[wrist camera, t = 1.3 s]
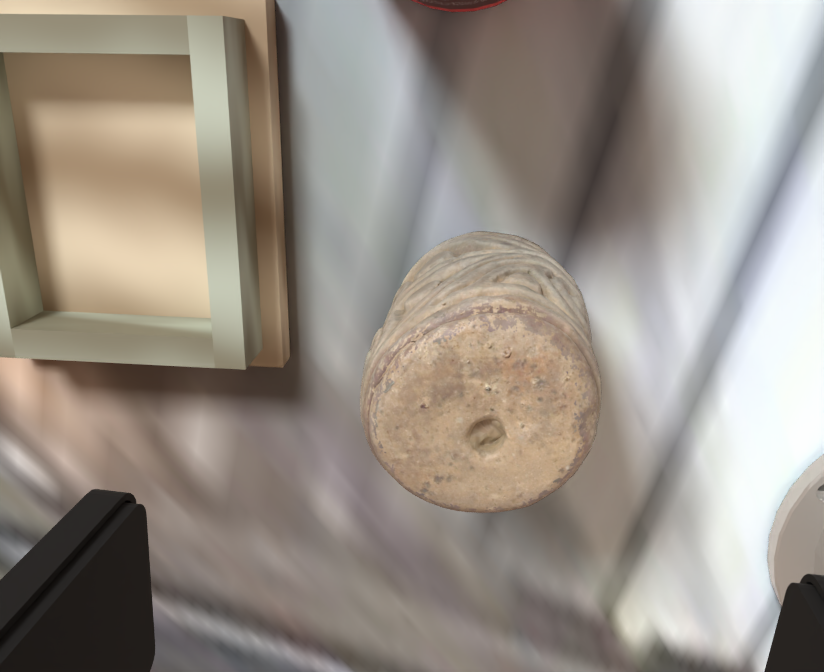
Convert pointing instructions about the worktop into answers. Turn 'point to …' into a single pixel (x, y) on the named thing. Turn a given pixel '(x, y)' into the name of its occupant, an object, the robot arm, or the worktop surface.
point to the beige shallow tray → (142, 183)
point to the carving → (483, 376)
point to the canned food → (459, 4)
